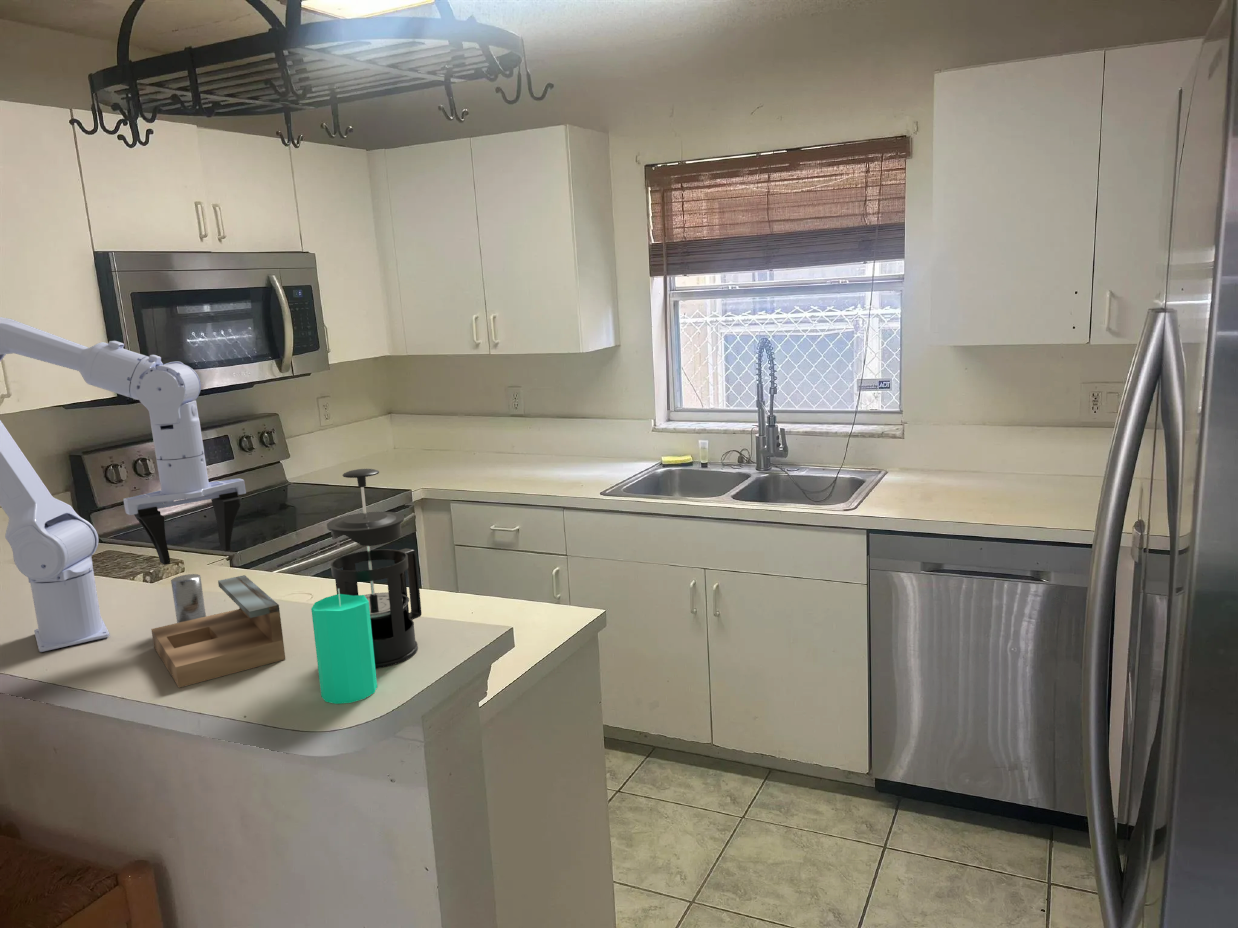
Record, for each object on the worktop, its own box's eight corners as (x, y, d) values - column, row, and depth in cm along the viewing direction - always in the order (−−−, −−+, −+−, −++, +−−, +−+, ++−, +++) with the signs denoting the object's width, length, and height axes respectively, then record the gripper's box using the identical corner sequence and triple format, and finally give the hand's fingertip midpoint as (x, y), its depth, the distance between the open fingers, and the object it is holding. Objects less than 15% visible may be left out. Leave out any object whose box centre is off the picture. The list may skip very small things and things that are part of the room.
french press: (366, 677, 103) (346, 482, 99) (318, 660, 109) (297, 475, 105) (444, 643, 112) (428, 464, 108) (396, 629, 118) (379, 458, 114)
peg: (175, 626, 123) (168, 578, 121) (203, 620, 125) (197, 572, 123) (181, 634, 120) (173, 584, 118) (209, 627, 122) (203, 578, 120)
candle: (361, 705, 96) (350, 598, 94) (310, 702, 97) (298, 597, 95) (386, 681, 102) (376, 580, 100) (338, 678, 103) (327, 579, 101)
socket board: (154, 647, 115) (146, 595, 114) (250, 624, 122) (244, 574, 121) (178, 687, 103) (170, 629, 101) (285, 659, 110) (278, 604, 108)
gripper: (126, 469, 109) (144, 575, 112) (247, 450, 119) (261, 548, 121) (113, 463, 115) (130, 564, 117) (229, 445, 124) (243, 539, 126)
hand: (196, 556), depth 120 cm, fingers open, 7 cm apart
